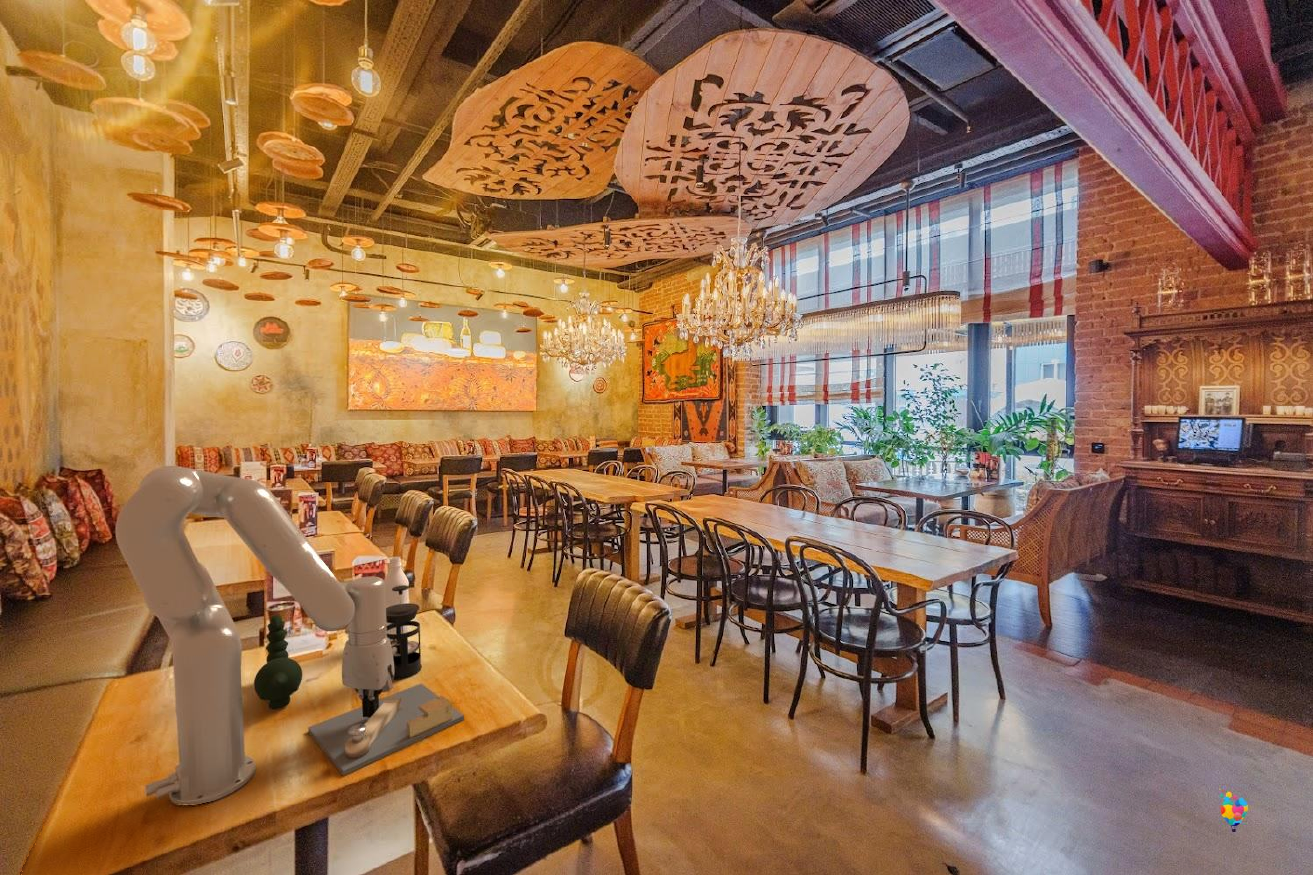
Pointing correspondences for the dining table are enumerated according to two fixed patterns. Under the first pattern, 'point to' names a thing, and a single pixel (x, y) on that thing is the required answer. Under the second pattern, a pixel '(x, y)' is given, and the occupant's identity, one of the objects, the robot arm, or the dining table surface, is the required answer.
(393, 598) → the water bottle
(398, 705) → the beech link
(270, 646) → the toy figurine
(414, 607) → the french press
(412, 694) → the charcoal board
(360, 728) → the steel pin
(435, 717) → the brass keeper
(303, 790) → the dining table surface
